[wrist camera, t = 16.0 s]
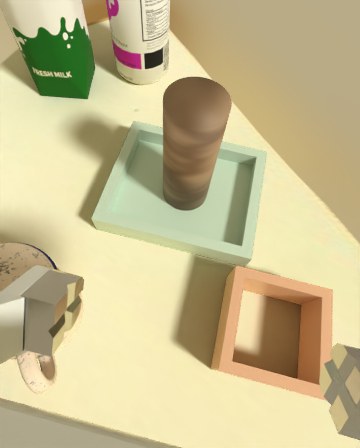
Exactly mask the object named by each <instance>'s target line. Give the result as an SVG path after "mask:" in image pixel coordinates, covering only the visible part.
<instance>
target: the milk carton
mask: <svg viewBox="0 0 360 448" xmlns="http://www.w3.org/2000/svg"><path fill="white" fill-rule="evenodd" d="M0 8H1V10H2V12H3V14H4V16H5V18H6V21H7V23H8V25H9V27H10V29H11V31H12V33H13V36H14V38H15V40H16V42H17V44H18V46H19V49H20V51H21V53H22V55H23V57H24V60H25V62H26V64H27V66H28V68H29V71H30V73H31V75H32V77H33V79H34V81H35V84H36V86H37V88H38V90H39V93H40V95H41V96H55V97H68V98H82V99H88V95H89V91H90V87H91V83H92V79H93V75H94V71H95V63H94V58H93V52H92V46H91V41H90V36H89V32H88V28H87V23H86V19H85V14H84V10H83V5H82V1H81V0H0Z"/></svg>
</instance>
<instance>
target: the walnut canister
mask: <svg viewBox="0 0 360 448" xmlns="http://www.w3.org/2000/svg"><path fill="white" fill-rule="evenodd" d="M230 110H231V98H230V95H229V94H228V92H227V91H226V90H225V88H224V87H222V86H221V85H220V84H218V83H217V82H215V81H213V80H210V79H207V78H202V77H186V78H182V79H179V80H177V81H175V82H173V83H172V84H171V85H169V86H168V88H167V89H166V91H165V93H164V96H163V196H164V198H165V200H166V201H167V203H168V204H169V205H170V206H172V207H173V208H175V209H178V210H183V211H189V210H194V209H196V208H198V207H200V206H201V205H202V204H203V203H204V201H205V199H206V197H207V193H208V190H209V186H210V182H211V179H212V175H213V171H214V168H215V164H216V160H217V157H218V153H219V150H220V146H221V142H222V139H223V135H224V131H225V128H226V124H227V121H228V117H229V113H230Z"/></svg>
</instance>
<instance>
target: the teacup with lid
mask: <svg viewBox="0 0 360 448" xmlns="http://www.w3.org/2000/svg"><path fill="white" fill-rule="evenodd" d="M35 265H40V266H44V267H48V268H52V269H55V270H59V269H58V268H57V267H56V265H55V264H54V262H53V261H52V260H51V258H50V257H49V256H48V255H47V254H45V253H44V252H43V251H41V250H40V249H38V248H36V247H34V246H31V245H28V244H23V243H14V242H6V243H0V291H2V290H4V289H5V288H6V287H8V286H9V285H10V284H11V283H13V282H14V281H15V280H17V279H18V278H19V277H20V276H22V275H23V274H24V273H26V272H27V271H28V270H29V269H31V268H32V267H33V266H35ZM59 271H61V270H59ZM79 296H80V298H81V300H82V303H81V309H80V313H79V316H78V318H77V320H76V322H75V324H74V326H73V327H72V329H71V330H69V331H67V332H64V340H63V341H62V343H61V344H60V346H59V347H58V348H57V350H56V351H58V350H59V349H61V348H62V347H63V346H64V345H66V344H67V343H68V342H69V341H70V339H71V338H72V337H73V336H74V334H75V333H76V331H77V329H78V327H79V325H80V322H81V319H82V315H83V299H82V295H81V292H80V294H79ZM56 351H55V352H56ZM36 358H38V359H39V363H40V367H41V369H40V367H39V365H38V362H37V359H36ZM10 359H17V361H18V365H19V369H20V372H21V375H22V377H23V379H24V381H25V383H26V385H27V386H28V387H29V389H30V390H31V391H33V392H34V393H43V392H45V391H47V390H48V389H50V388H51V387H52V386H53V385H54V383H55V381H56V376H57V367H56V362H55V358H54V354H53V356H52V357H51V356H47V355H42V354H38V353H34V352H30V351H25V350H23V351H22V352H21V353H19V354H17V355H16V356H14V357H12V358H10Z"/></svg>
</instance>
